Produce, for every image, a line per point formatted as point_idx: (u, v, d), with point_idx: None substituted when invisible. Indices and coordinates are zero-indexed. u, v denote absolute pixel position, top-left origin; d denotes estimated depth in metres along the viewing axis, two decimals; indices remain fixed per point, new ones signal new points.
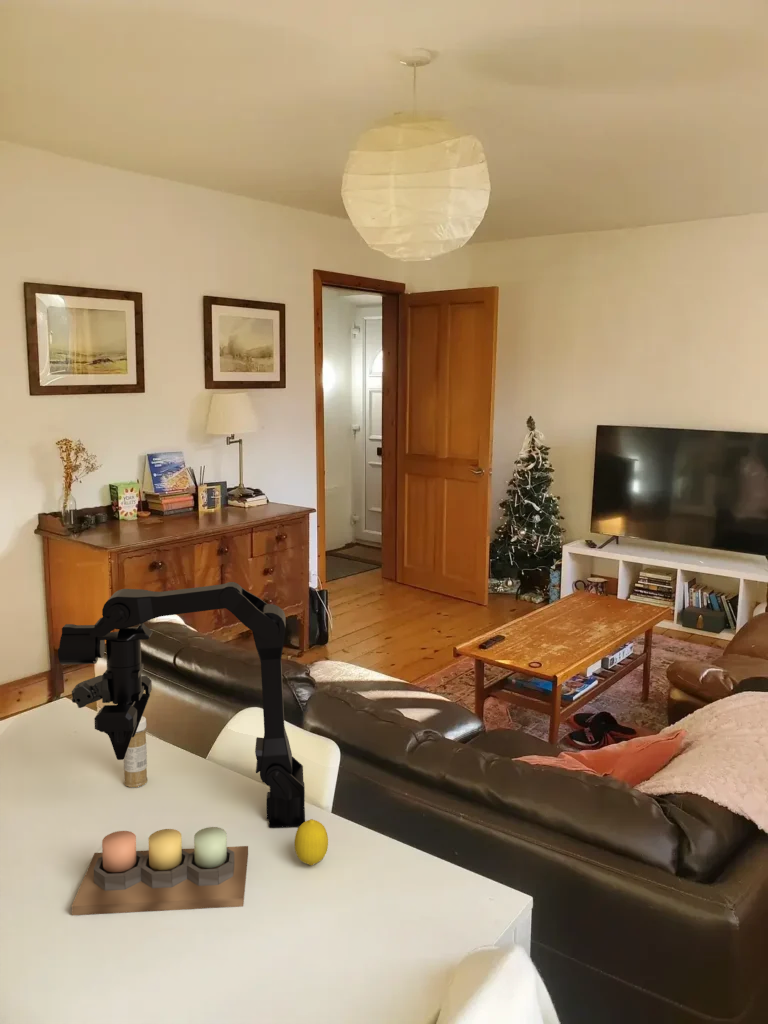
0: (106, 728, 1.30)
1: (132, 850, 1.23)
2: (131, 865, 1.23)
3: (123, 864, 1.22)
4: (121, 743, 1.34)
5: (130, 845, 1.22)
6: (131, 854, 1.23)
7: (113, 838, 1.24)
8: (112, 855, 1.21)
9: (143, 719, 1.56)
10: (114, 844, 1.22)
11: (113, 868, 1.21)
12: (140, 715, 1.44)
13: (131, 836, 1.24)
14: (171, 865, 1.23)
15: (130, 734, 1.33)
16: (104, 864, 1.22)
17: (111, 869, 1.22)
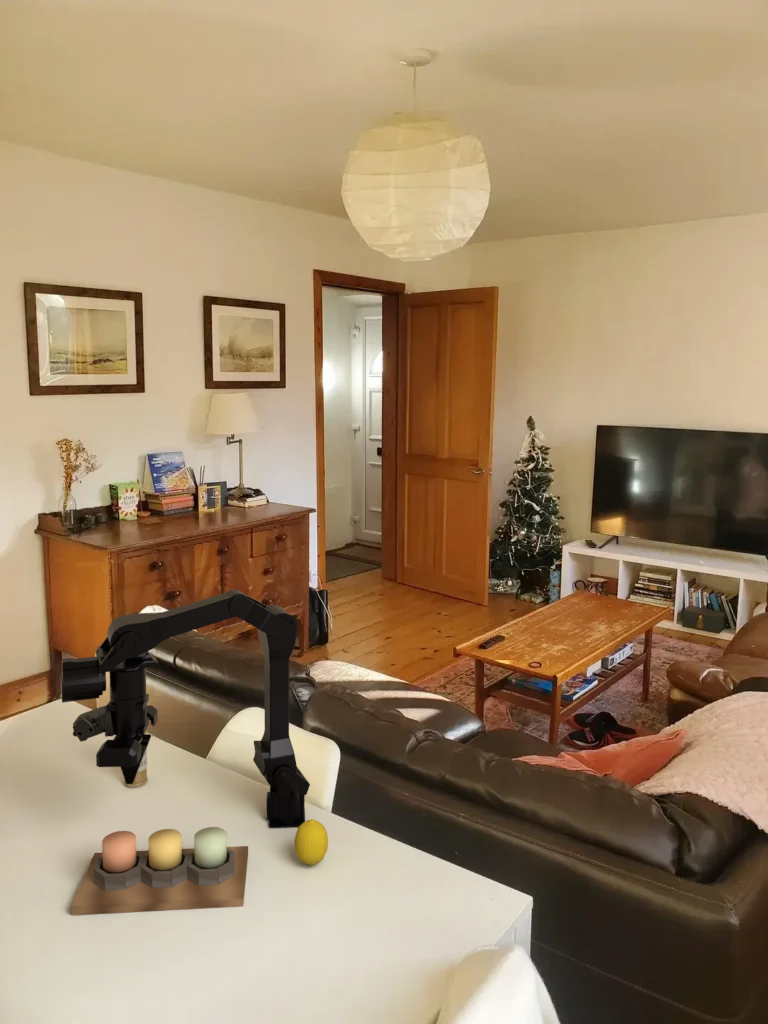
0: (108, 765, 1.22)
1: (132, 850, 1.23)
2: (131, 865, 1.23)
3: (123, 864, 1.22)
4: (130, 767, 1.31)
5: (130, 845, 1.22)
6: (131, 854, 1.23)
7: (113, 838, 1.24)
8: (112, 855, 1.21)
9: None
10: (114, 844, 1.22)
11: (113, 868, 1.21)
12: (140, 759, 1.32)
13: (131, 836, 1.24)
14: (171, 865, 1.23)
15: (139, 758, 1.30)
16: (104, 864, 1.22)
17: (111, 869, 1.22)
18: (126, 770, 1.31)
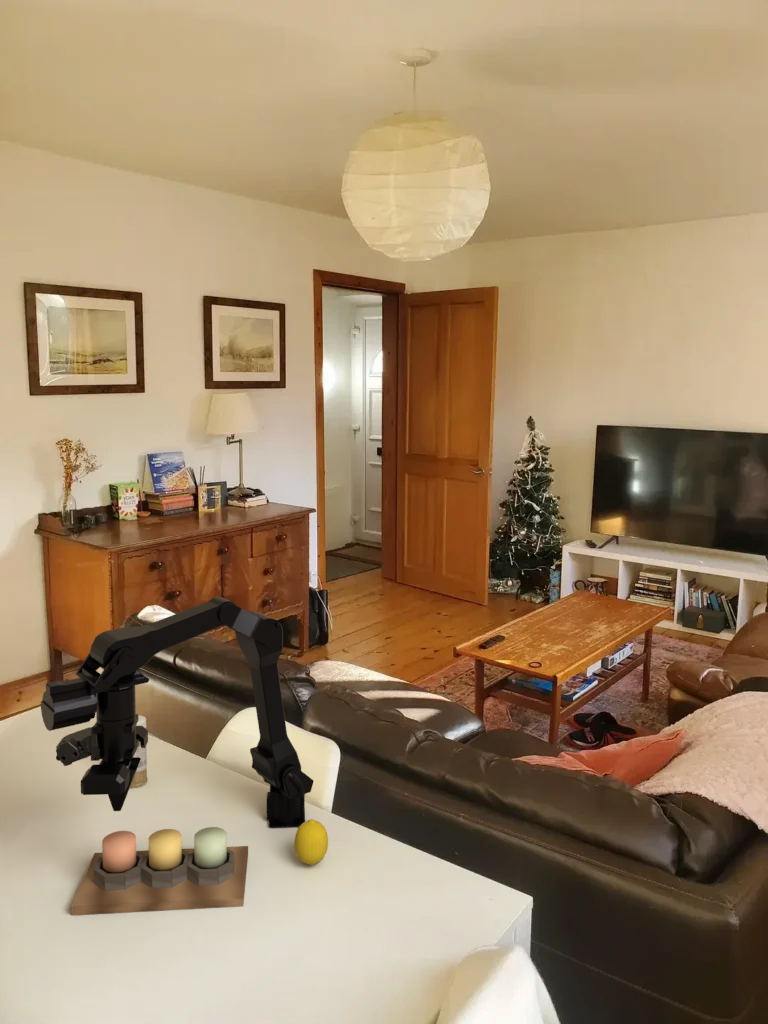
0: (94, 792, 1.13)
1: (132, 850, 1.23)
2: (131, 865, 1.23)
3: (123, 864, 1.22)
4: (118, 793, 1.22)
5: (130, 845, 1.22)
6: (131, 854, 1.23)
7: (113, 838, 1.24)
8: (112, 855, 1.21)
9: (143, 719, 1.56)
10: (114, 844, 1.22)
11: (113, 868, 1.21)
12: None
13: (131, 836, 1.24)
14: (171, 865, 1.23)
15: None
16: (104, 864, 1.22)
17: (111, 869, 1.22)
18: (113, 796, 1.22)
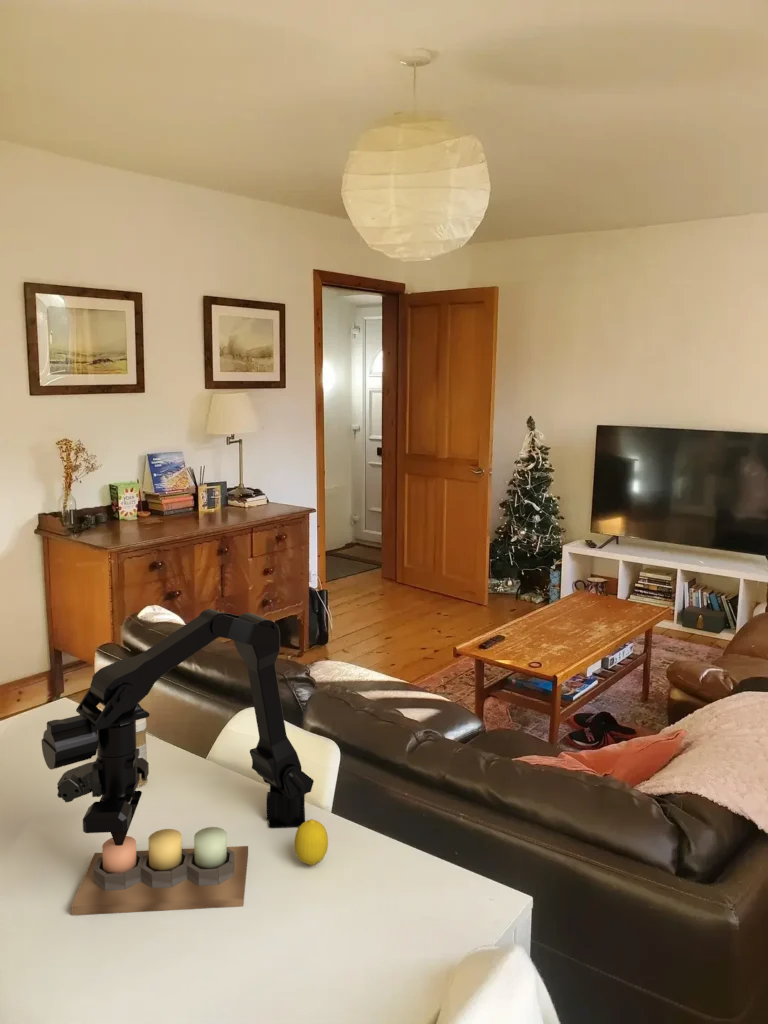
0: (96, 831, 1.13)
1: (132, 855, 1.23)
2: None
3: (123, 869, 1.22)
4: None
5: (130, 850, 1.22)
6: (131, 859, 1.23)
7: (113, 843, 1.24)
8: (112, 860, 1.21)
9: (143, 719, 1.56)
10: (114, 849, 1.22)
11: (113, 873, 1.22)
12: None
13: (131, 841, 1.24)
14: (171, 865, 1.23)
15: None
16: (104, 869, 1.22)
17: None
18: (115, 831, 1.22)
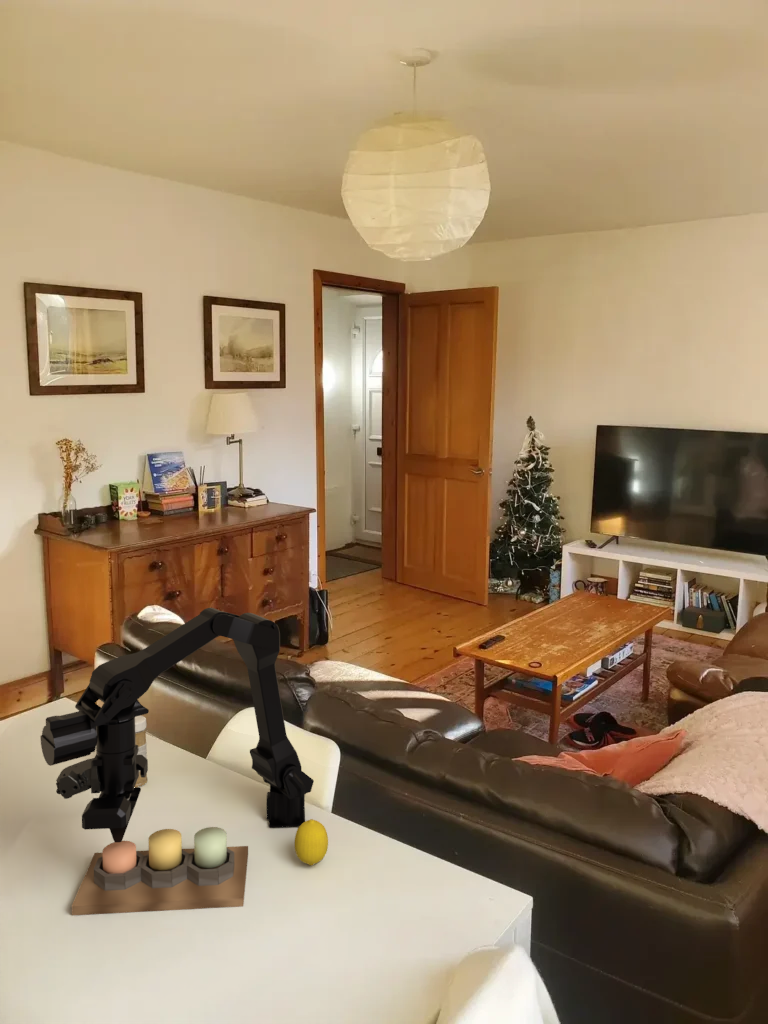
0: (95, 827, 1.13)
1: (133, 860, 1.23)
2: None
3: None
4: None
5: (130, 855, 1.23)
6: (131, 864, 1.23)
7: (113, 848, 1.24)
8: (112, 865, 1.21)
9: (143, 719, 1.56)
10: (114, 854, 1.22)
11: None
12: None
13: (131, 846, 1.25)
14: (171, 865, 1.23)
15: None
16: None
17: None
18: (114, 828, 1.22)
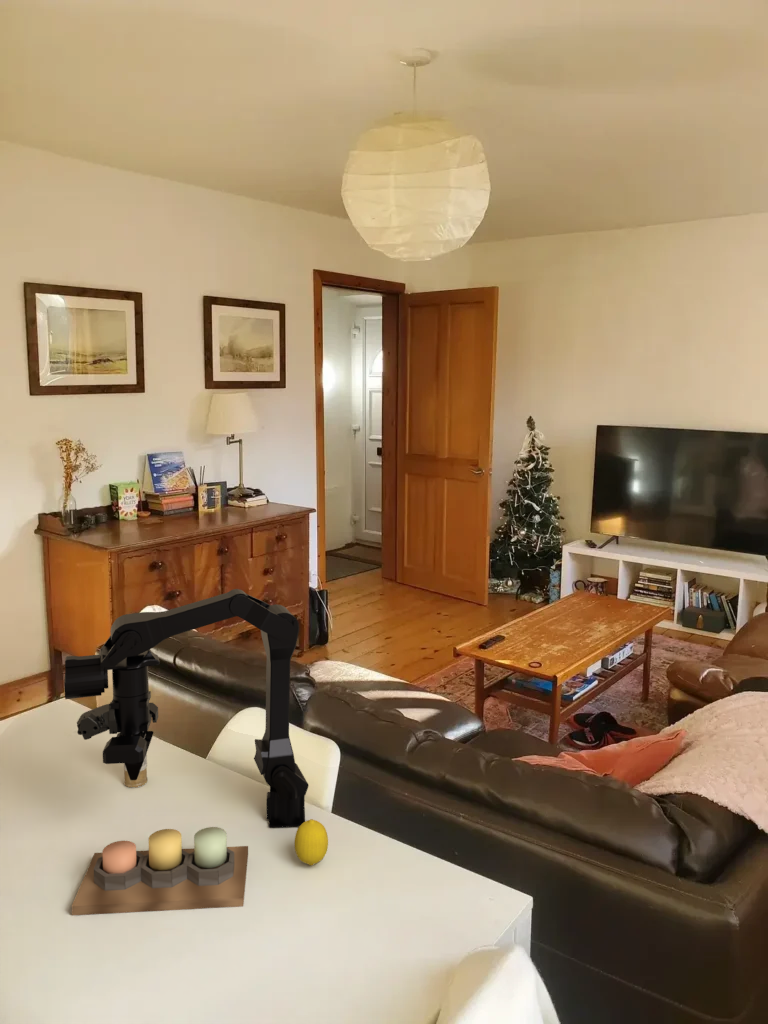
0: (115, 761, 1.24)
1: (133, 860, 1.23)
2: None
3: None
4: (134, 763, 1.33)
5: (130, 855, 1.23)
6: (131, 864, 1.23)
7: (113, 848, 1.24)
8: (112, 865, 1.21)
9: None
10: (114, 854, 1.22)
11: None
12: None
13: (131, 846, 1.25)
14: (171, 865, 1.23)
15: (144, 754, 1.32)
16: None
17: None
18: (130, 766, 1.33)
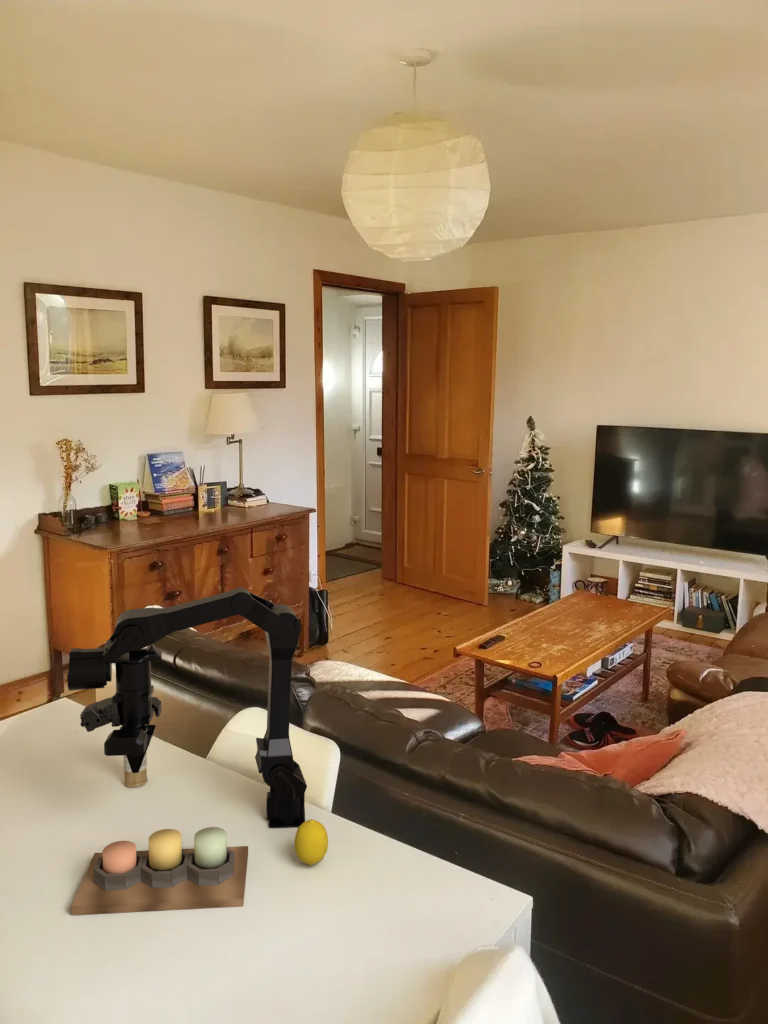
0: (116, 754, 1.26)
1: (133, 860, 1.23)
2: None
3: None
4: (136, 756, 1.35)
5: (130, 855, 1.23)
6: (131, 864, 1.23)
7: (113, 848, 1.24)
8: (112, 865, 1.21)
9: None
10: (114, 854, 1.22)
11: None
12: None
13: (131, 846, 1.25)
14: (171, 865, 1.23)
15: (145, 747, 1.34)
16: None
17: None
18: (132, 759, 1.35)
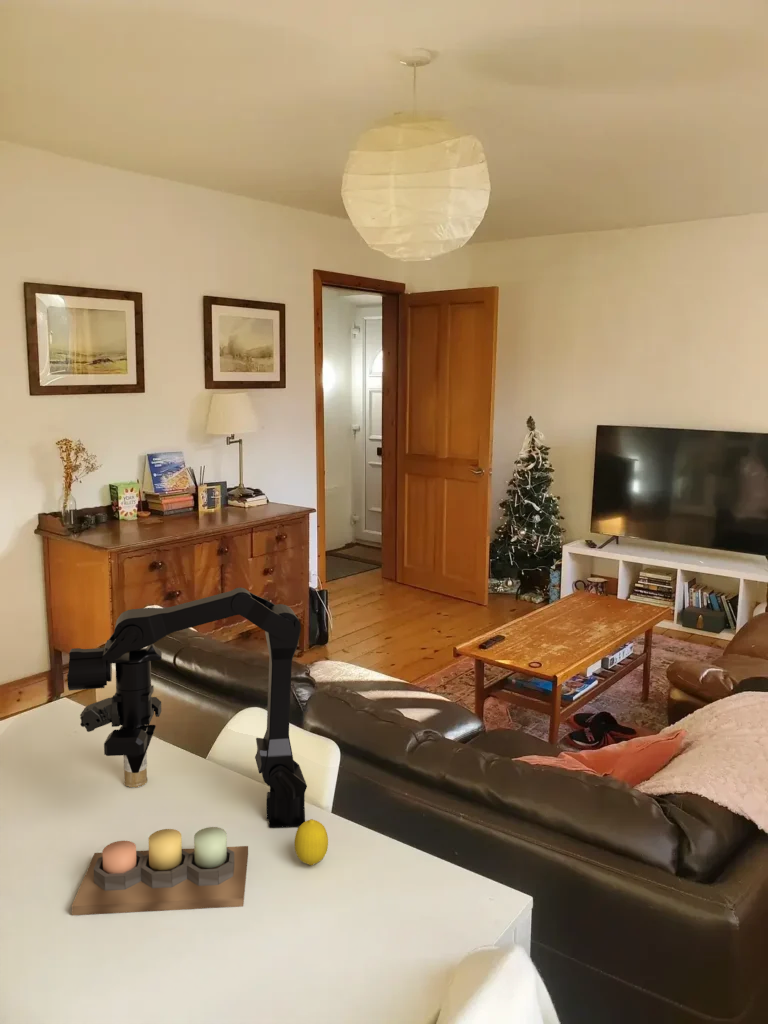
0: (116, 754, 1.26)
1: (133, 860, 1.23)
2: None
3: None
4: (136, 756, 1.35)
5: (130, 855, 1.23)
6: (131, 864, 1.23)
7: (113, 848, 1.24)
8: (112, 865, 1.21)
9: None
10: (114, 854, 1.22)
11: None
12: None
13: (131, 846, 1.25)
14: (171, 865, 1.23)
15: (145, 747, 1.34)
16: None
17: None
18: (132, 759, 1.35)
